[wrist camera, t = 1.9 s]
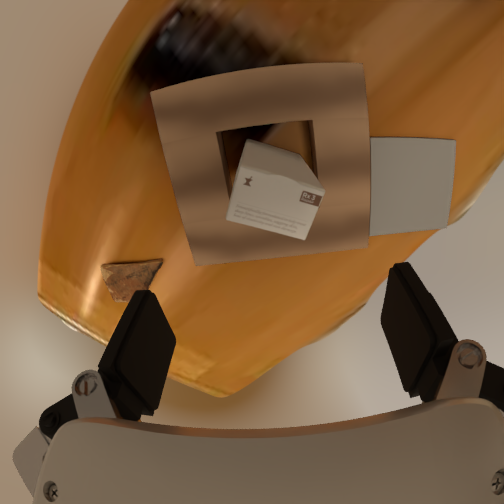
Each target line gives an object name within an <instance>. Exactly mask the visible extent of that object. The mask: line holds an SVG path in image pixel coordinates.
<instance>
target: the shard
mask: <svg viewBox="0 0 504 504" xmlns="http://www.w3.org/2000/svg"><path fill="white" fill-rule="evenodd" d="M162 264H163V262H162V259H158V260H150V261H147V262H140V263H131V264H119V265H118V264H106V265H102V266H101V272H102V275H103V279H104V281H105V284H106V286H107V287H108V289H109V292H110V293H111V296H112V298H113V300H114V301H115V302H129V301H130V299H131V298H132V296H133V294H134V292H135V291H136V290H148V289H149V287H150V286H151V284H152V282H153V280H154V278H155V276H156V274H157V272H158V270H159V269H160V268H161V266H162Z"/></svg>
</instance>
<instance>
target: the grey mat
mask: <svg viewBox="0 0 504 504" xmlns="http://www.w3.org/2000/svg"><path fill="white" fill-rule="evenodd" d="M455 152H456V140H452V139H438V138H418V137H370V221H369V236H375V235H384V234H394V233H404V232H413V231H423V230H433V229H442V228H447V223H448V217H449V211H450V204H451V197H452V189H453V179H454V168H455Z"/></svg>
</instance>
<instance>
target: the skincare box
mask: <svg viewBox="0 0 504 504" xmlns="http://www.w3.org/2000/svg"><path fill="white" fill-rule="evenodd" d="M324 194H325V189H324V188H323V186H322V185H321V184H320V182H319V181H318V179H317V178H316V176H315V175H314V174H313V172H312V171H311V169H310V168H309V166H308V165H307V164H306V162H305V161H304V160H303V158H302V157H301V155H300V154H297V153H294V152H291V151H288V150H285V149H282V148H278V147H275V146H272V145H269V144H265V143H262V142H258V141H255V140H251V139H246V142H245V146H244V149H243V152H242V155H241V159H240V162H239V166H238V169H237V172H236V176H235V180H234V184H233V189H232V193H231V197H230V201H229V206H228V209H227V213H226V220H228V221H232V222H236V223H240V224H244V225H248V226H252V227H256V228H260V229H264V230H268V231H272V232H275V233H279V234H283V235H287V236H290V237H294V238H298V239H302V240H305V239H306V237H307V235H308V232H309V230H310V228H311V225H312V223H313V220H314V218H315V215H316V213H317V211H318V208H319V206H320V203H321V201H322V199H323V196H324Z"/></svg>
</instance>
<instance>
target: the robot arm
mask: <svg viewBox="0 0 504 504" xmlns="http://www.w3.org/2000/svg"><path fill="white" fill-rule="evenodd" d="M381 325H382V328H383V331H384V333H385V336H386V339H387V341H388V344H389V347H390V350H391V353H392V355H393V358H394V361H395V364H396V367H397V370H398V373H399V376H400V379H401V382H402V385H403V388H404V390H405V392H409V395H410V398H412V397H416V396H419V395H420V398H421V400H422V404H419V405H415V406H412V407H408V408H404V409H400V410H396V411H391V412H387V413H382V414H378V415H373V416H368V417H363V418H358V419H353V420H347V421H341V422H334V423H327V424H320V425H310V426H301V427H290V428H273V429H206V428H191V427H179V426H169V425H160V424H152V423H145V422H141V420H140V418H141V414H142V415H149V416H153V414H154V410H156V409H157V408H158V406H159V403H160V399H161V395H162V391H163V388H164V384H165V380H166V377H167V373H168V369H169V366H170V362H171V359H172V355H173V352H174V348H175V345H176V338H175V335H174V333H173V331H172V329H171V327H170V325H169V323H168V321H167V319H166V317H165V315H164V313H163V310H162V308H161V306H160V304H159V302H158V300H157V297H156V295H155V294H154V293H152V292H151V291H150V290H136V291H135V292H134V294H133V296H132V298H131V299H130V301H129V303H128V305H127V307H126V309H125V311H124V313H123V315H122V317H121V319H120V321H119V323H118V325H117V327H116V329H115V331H114V333H113V335H112V337H111V339H110V341H109V343H108V345H107V347H106V349H105V352H104V354H103V356H102V358H101V360H100V362H99V365H98V367H99V369H98V372H97V371H94V370H86V371H84V372H82V373H80V374H79V375H78V376H77V377H76V378H75V380H74V382H73V384H72V394H70V395H68V396H67V397H65V398H64V399H62V400H60V401H59V402H57V403H55V404H54V405H52V406H50V407H49V408H47V409H46V410H45V411H44V412H43V413H42V414H41V417H40V420H39V428H38V427H37V426H36V427H35V428H34V429H33V430H32V431H31V432H30V433H29V434H28V435H27V436H26V438H25V439H24V440H23V441H22V442H21V443H20V444H19V445H18V446H17V447H16V449H15V450H14V453H13V462H14V464H15V466H16V468H17V470H18V472H19V474H20V476H21V477H22V479H23V481H24V483H25V485H26V486H27V488H28V490H29V491H30V493H31V495H32V496H33V498H34V499H33V504H504V368H502V367H499V366H497V365H495V364H492V363H490V362H488V361H486V353H485V350H484V349H483V347H482V346H481V345H480V344H479V343H477V342H475V341H473V340H469V339H466V340H461V341H458V339H457V337H456V335H455V334H454V332H453V330H452V328H451V326H450V325H449V323H448V321H447V319H446V318H445V316H444V315H443V312H442V311H441V309H440V307H439V306H438V304H437V302H436V301H435V299H434V297H433V296H432V295H431V293H429V292H428V291H427V289H426V288H425V286H424V285H423V283H422V281H421V280H420V278H419V277H418V275H417V274H416V272H415V271H414V269H413V268H412V267H411V265H410V263H409V262H403V263H396V264H394V266H393V268H390V270H389V275H388V281H387V287H386V294H385V298H384V304H383V309H382V313H381Z"/></svg>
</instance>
